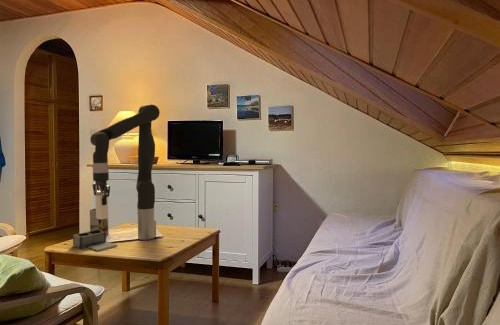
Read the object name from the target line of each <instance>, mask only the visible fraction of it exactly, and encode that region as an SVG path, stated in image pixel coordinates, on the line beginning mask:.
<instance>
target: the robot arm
mask: <svg viewBox="0 0 500 325" xmlns="http://www.w3.org/2000/svg"><path fill="white" fill-rule="evenodd" d="M159 117H160V109H159V107H158V106H157V105H155V104H152V103H151V104H149V103H148V104H142V105H140V106H139V109H138V111H137V113H136V114H134V115H132V116H130V117H127V118H124V119H121V120H118V121H117V122H115V123H113V124H112V125H109V126H108V127H105V128H103V129H100V130H98V131H96V132H94V133H93V134H92V135H91V137H90V143H91V144H92V145H93V146H95V150H94V152H93V153H92V181H93V182H94V183H92V189H93V195H94V196H95V195H101V196H102V205H106V204H107V197H110V192H111V185H108V183H107V181H109V179H110V174H109V172H110V171H109V161H108V160H109V159H108V152H109V147H110V141H111V140H115V139H118V138H119V137H121V136H123V135H125V134H127V133H129V132H130V131H132V130H134V129H135V128H137V127H138V146H137V147H138V148H137V165H138V166H137V167H138V169H137V170H138V172H137V173H138V174H137V180H136V185H135V186H136V187H135V189H136V192H137V205H136V208H137V210H136V211H137V212H136V213H137V239H138V240H141V241H146V240H147V241H148V240H152V239H155V238H156V237H157V220H156V219H155V202H156V190H155V185H154V183H153V179H152V178H153V176H152V171H153V170H152V169H153V166H154V161H155V157H156V156H155V155H156V143H155V139H154V136H153V135H154V134H153V132H152V122H154V121H155V120H158V118H159ZM103 194H104V195H103Z"/></svg>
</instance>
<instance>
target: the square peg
mask: <svg viewBox="0 0 500 325" xmlns="http://www.w3.org/2000/svg"><path fill="white" fill-rule="evenodd" d="M103 195H104V193H103ZM94 196H95V201H94V202H95V208H96V218H97V219H100V220H101V219H106V218H108V219H109V198H108V197H107V204H106V205H102V196H101V195H94Z"/></svg>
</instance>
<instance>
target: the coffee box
mask: <svg viewBox="0 0 500 325" xmlns="http://www.w3.org/2000/svg"><path fill="white" fill-rule="evenodd" d="M94 230H101V231H104V232H106V236H108V235H109V217H108V218H106V219H101V220H100V219H97V218H96V207H94V208H92V209H89V231H94ZM107 234H108V235H107Z"/></svg>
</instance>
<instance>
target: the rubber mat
mask: <svg viewBox="0 0 500 325" xmlns="http://www.w3.org/2000/svg"><path fill="white" fill-rule="evenodd" d="M117 247H118V244H116V243H113V242H110V241H106V242H105V243H101V244H97V245H93V246H89V247H88V249H90V248H91V249H90V250H93V251H95V250H96V252H100V251H99V250H101V251H105V250H109V249H113V248H117ZM108 248H109V249H108ZM104 249H105V250H104Z"/></svg>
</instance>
